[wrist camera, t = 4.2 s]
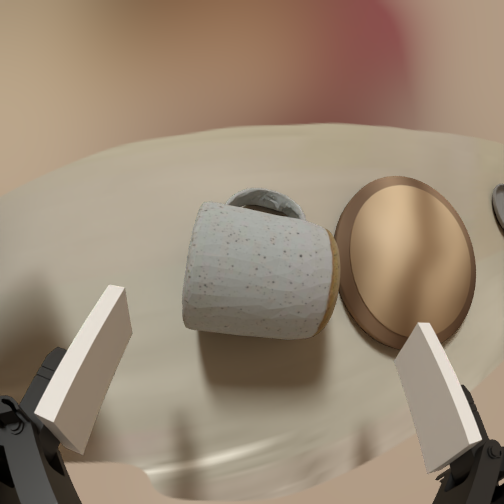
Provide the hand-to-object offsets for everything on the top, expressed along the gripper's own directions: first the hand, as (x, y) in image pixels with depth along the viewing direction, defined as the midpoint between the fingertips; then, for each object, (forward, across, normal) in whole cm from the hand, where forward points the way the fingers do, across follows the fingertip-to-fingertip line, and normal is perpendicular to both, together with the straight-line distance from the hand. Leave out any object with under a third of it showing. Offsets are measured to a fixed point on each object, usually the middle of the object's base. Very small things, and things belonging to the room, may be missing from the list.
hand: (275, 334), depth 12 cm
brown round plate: (+11, +12, -1) cm, 16 cm away
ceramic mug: (+10, -1, -3) cm, 10 cm away
